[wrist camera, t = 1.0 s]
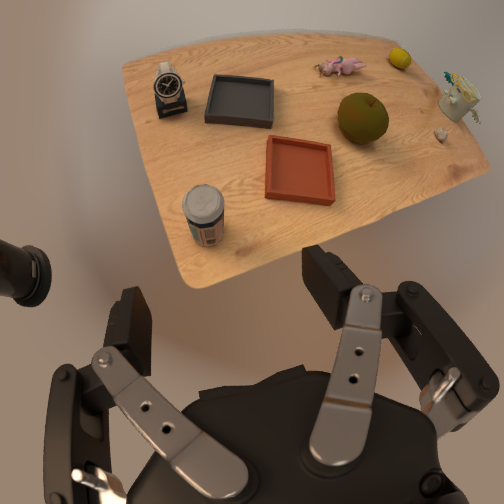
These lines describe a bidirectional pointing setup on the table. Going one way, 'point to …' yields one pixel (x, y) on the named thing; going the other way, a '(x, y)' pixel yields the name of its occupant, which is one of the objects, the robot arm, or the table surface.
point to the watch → (169, 91)
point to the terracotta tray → (299, 171)
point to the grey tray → (240, 101)
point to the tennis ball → (400, 58)
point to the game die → (441, 134)
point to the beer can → (204, 214)
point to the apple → (362, 118)
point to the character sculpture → (460, 99)
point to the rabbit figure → (340, 66)
